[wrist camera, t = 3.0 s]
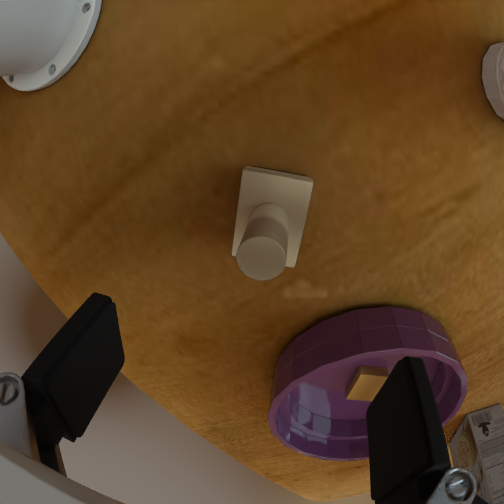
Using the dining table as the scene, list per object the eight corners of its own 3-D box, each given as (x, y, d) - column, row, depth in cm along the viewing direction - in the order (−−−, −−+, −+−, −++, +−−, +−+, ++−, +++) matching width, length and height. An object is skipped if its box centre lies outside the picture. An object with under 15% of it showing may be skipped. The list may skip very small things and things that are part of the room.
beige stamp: (295, 249, 23) (291, 314, 16) (238, 238, 23) (213, 299, 17) (312, 172, 20) (318, 211, 13) (249, 160, 20) (223, 194, 14)
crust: (345, 390, 29) (345, 399, 28) (359, 364, 27) (360, 374, 26) (371, 392, 28) (373, 401, 27) (387, 367, 26) (389, 377, 25)
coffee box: (481, 433, 33) (500, 515, 19) (447, 443, 34) (462, 530, 20) (501, 401, 29) (530, 494, 15) (465, 413, 30) (489, 514, 16)
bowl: (260, 411, 33) (254, 451, 28) (297, 285, 24) (295, 332, 19) (401, 424, 32) (407, 460, 27) (480, 315, 23) (503, 355, 18)
